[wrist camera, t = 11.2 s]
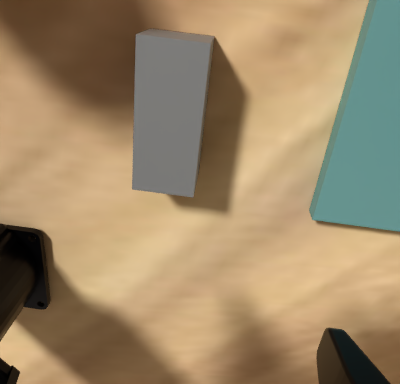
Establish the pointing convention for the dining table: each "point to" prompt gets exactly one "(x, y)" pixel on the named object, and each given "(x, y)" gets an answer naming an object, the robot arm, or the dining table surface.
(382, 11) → the peg stand
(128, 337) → the dining table surface
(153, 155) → the block
